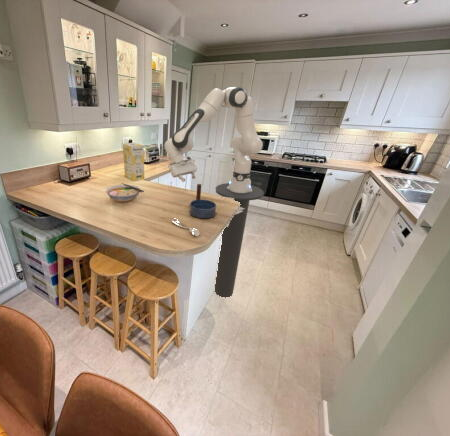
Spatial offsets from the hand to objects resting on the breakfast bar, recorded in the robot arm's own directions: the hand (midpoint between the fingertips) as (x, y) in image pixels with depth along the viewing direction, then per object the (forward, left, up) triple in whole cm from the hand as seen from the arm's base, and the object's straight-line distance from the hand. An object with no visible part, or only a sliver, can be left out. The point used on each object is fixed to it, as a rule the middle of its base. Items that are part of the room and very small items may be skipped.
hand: (189, 179), depth 149 cm
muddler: (+4, +8, -15) cm, 17 cm away
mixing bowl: (+15, +14, -15) cm, 25 cm away
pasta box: (-34, -62, -15) cm, 72 cm away
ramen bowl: (+16, -40, -15) cm, 46 cm away
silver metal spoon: (+36, +10, -15) cm, 41 cm away
